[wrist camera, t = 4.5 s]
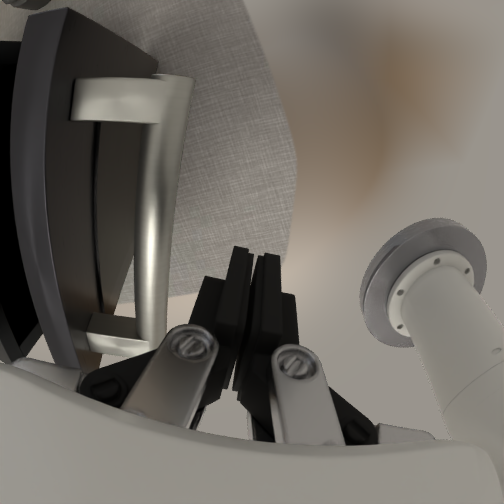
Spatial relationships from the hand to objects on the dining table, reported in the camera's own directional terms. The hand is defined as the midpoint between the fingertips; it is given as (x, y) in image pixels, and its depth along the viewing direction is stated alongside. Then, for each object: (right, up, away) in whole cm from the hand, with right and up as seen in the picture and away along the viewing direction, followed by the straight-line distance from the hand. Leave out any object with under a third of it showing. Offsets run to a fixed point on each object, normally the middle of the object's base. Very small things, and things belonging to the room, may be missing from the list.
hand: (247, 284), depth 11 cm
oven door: (-8, +9, +13) cm, 18 cm away
